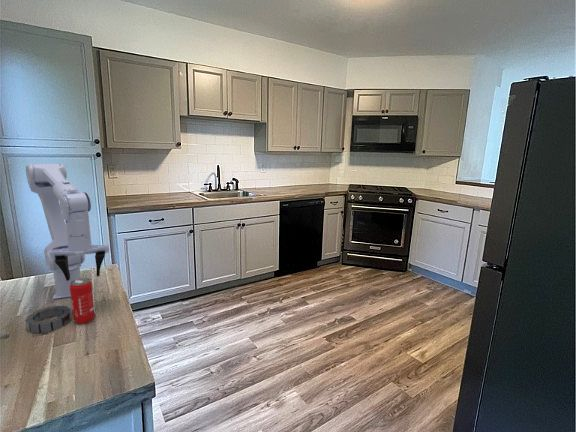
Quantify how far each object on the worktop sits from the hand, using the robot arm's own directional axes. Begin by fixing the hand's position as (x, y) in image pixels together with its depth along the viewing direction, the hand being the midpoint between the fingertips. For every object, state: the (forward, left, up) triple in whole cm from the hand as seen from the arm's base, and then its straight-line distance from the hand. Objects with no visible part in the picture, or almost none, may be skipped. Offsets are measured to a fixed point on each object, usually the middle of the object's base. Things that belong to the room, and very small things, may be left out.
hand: (83, 277), depth 95 cm
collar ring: (+5, -9, -10) cm, 14 cm away
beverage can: (+7, 0, -11) cm, 13 cm away
